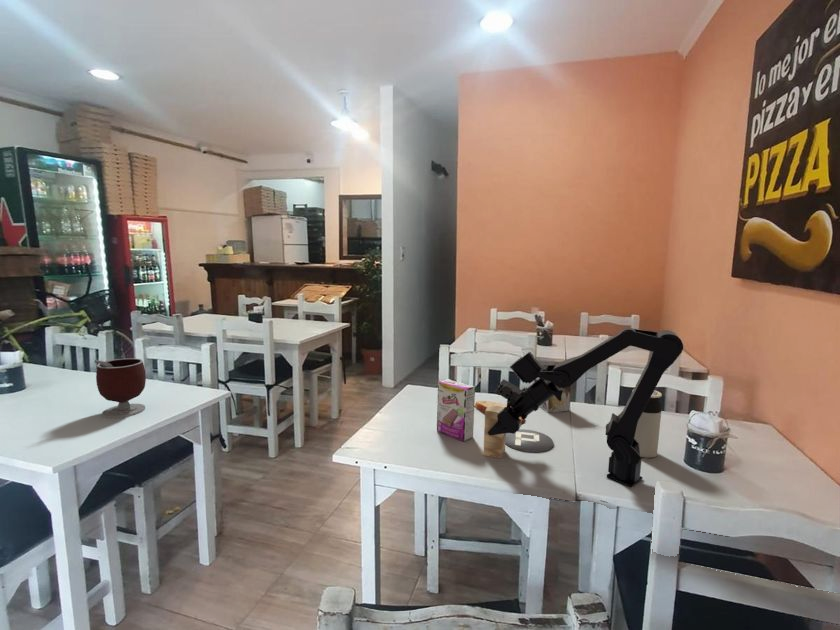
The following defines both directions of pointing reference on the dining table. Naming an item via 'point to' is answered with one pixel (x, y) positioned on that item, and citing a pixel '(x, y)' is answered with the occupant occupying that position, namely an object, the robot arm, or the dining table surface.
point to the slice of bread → (484, 405)
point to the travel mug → (649, 427)
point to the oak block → (493, 443)
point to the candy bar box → (455, 409)
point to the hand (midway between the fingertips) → (492, 427)
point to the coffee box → (558, 402)
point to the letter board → (529, 441)
